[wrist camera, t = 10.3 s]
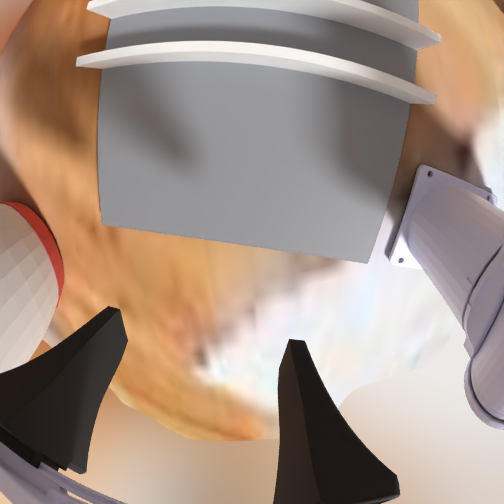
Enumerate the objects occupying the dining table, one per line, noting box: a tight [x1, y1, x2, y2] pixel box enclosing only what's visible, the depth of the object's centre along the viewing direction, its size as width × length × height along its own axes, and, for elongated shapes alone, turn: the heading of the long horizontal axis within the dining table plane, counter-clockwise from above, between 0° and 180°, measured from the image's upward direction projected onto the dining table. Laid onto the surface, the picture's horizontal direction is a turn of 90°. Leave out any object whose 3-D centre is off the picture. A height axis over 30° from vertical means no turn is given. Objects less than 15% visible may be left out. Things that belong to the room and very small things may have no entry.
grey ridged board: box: [76, 0, 441, 264], centre depth 11 cm, size 20×26×4 cm
